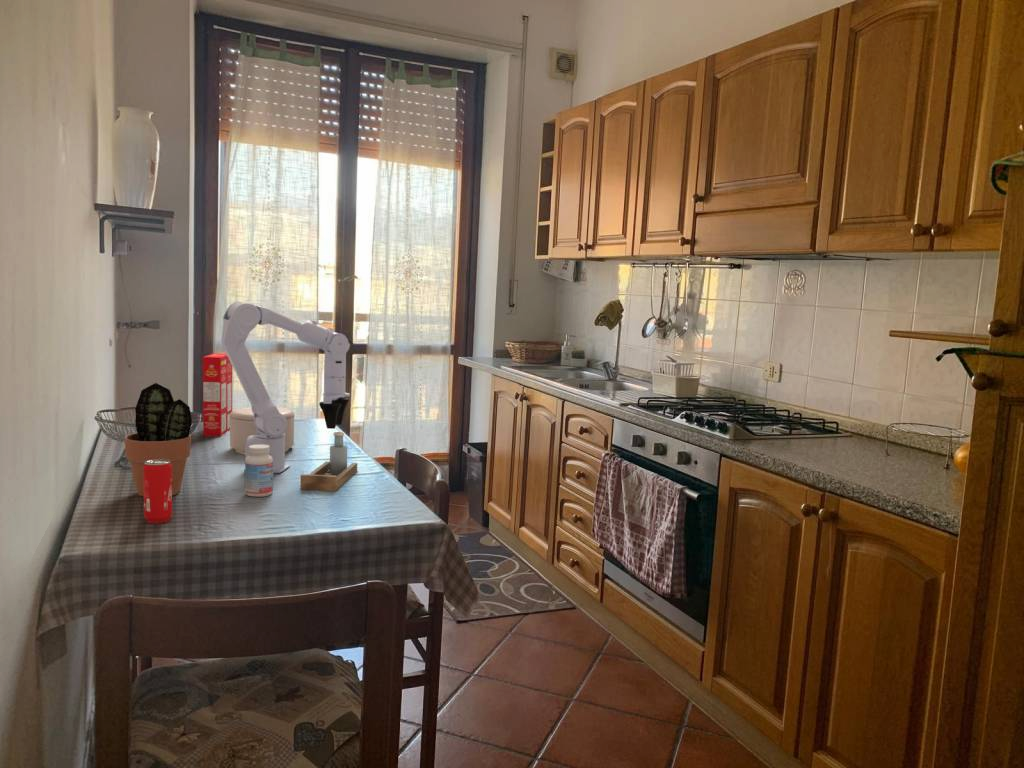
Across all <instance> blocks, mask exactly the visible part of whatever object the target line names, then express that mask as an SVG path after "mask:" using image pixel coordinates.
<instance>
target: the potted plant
mask: <svg viewBox="0 0 1024 768" xmlns="http://www.w3.org/2000/svg"><path fill="white" fill-rule="evenodd" d="M140 391H141V392H140V394H139V398H138V400H137V402H136V405H135V411H134V412H135V431H136V432H134V433H129V434H127V435H125V436H124V449H125V459H126V460H128V461H129V464H130V469H131V472H132V477H133V480H134V486H135V489H136V492H137V495H138V496H140V497H142V496H143V498H144V489H143V466H144V464H145V462H146V461H149V460H156V459H165V460H169V461H170V463H171V465H172V496H175V495H177V494H179V493H180V492H181V488H182V485H183V484H182V483H183V479H184V473H185V468H186V463H187V459H188V458H190V457H191V456H190V455H191V442H192V434H190V433H191V427H192V422H193V419H192V414H191V413H192V412H191V407H190V406H189V405H188V404H186V402H184V401H183V400H182V399H180V398H179V399H177V400H174V398H173V395H172V392H171V390H170V389H169V388H167V387H165V386H162V385H161V384H159V383H157V382H155V383H152V384H150V385H149V386H147V387H145V388H143V389H142V390H140Z"/></svg>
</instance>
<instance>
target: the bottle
mask: <svg viewBox="0 0 1024 768" xmlns="http://www.w3.org/2000/svg"><path fill="white" fill-rule="evenodd" d="M344 436H345V432H343V431H341V432H340V431H335V432H333V437H334V444H333V445H330V446H329V462H330V470H329V474H340V473H342V472H343V471H344V470H345V469H346V468H347V467H348V446H347V445H344Z"/></svg>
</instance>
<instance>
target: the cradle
mask: <svg viewBox="0 0 1024 768" xmlns="http://www.w3.org/2000/svg"><path fill="white" fill-rule="evenodd" d="M329 472H330V461H325V462H323V463H322V464H320V465H319V466H318V467H316V468H315V469H314V470H313V471H311V472H310V473H301V474H300V485H299V486H300V489H299V490H301V491H305V490H306V491H322V492H337V490H339V489H340V488H341V487H342V486H343V485H344V484H345V483H346V482H347V481H348V480H349V479H350V478H351V477H353V476H354V475H355V474H356V473H357V472H358V462H352V463H351V464H350V465H347V468H346V469H345V470H344V471H343V472H342V473H340V474H330V473H329Z"/></svg>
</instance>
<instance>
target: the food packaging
mask: <svg viewBox="0 0 1024 768" xmlns="http://www.w3.org/2000/svg"><path fill="white" fill-rule="evenodd" d="M202 401H203V402H202V406H203V407H202V421H203V422H202V424H203V425H202V430H203V431H202V433H203V435H202V436H203V437H217V436H221V437H223V436H224V435H226V432H227V431H228V432H230V413H231V412H232V411H233V366H232V364H231V362H230V360H229V358H228V356H227V354H226V352H224V353H222V352H220V353H218V352H215V353H212V354H209V355H205V356H203V357H202ZM228 432H227V433H228ZM223 434H224V435H223Z"/></svg>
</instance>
